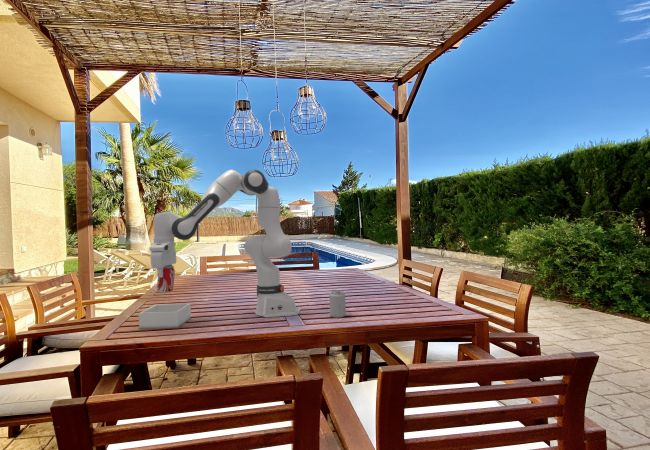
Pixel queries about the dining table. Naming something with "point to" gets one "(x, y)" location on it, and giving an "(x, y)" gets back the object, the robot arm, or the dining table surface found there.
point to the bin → (164, 316)
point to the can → (337, 304)
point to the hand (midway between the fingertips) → (165, 275)
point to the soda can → (166, 280)
